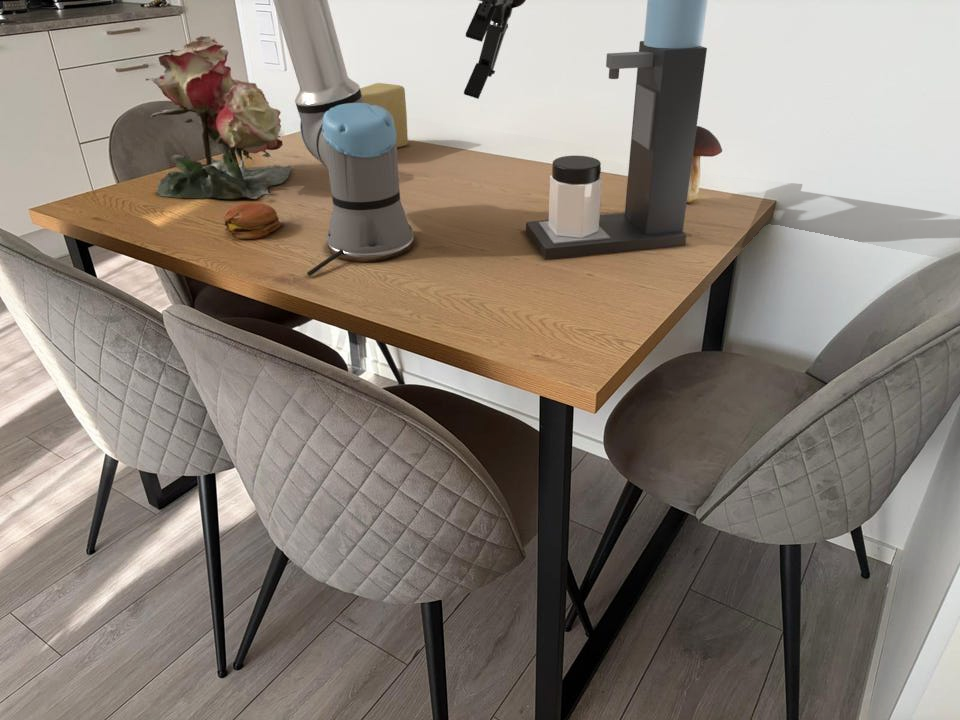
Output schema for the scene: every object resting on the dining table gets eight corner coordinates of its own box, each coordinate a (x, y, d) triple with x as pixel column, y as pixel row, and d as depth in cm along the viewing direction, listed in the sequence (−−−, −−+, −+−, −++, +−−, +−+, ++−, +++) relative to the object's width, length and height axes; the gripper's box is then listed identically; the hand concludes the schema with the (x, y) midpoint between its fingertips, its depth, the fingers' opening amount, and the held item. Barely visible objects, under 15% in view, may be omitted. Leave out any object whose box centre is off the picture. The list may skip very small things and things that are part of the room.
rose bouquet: (275, 202, 152) (248, 46, 136) (145, 197, 156) (105, 46, 140) (317, 166, 173) (299, 28, 157) (202, 163, 177) (173, 28, 162)
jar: (604, 236, 126) (609, 167, 120) (559, 240, 125) (561, 171, 119) (586, 218, 134) (590, 152, 128) (544, 222, 132) (545, 156, 126)
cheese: (351, 167, 172) (343, 101, 164) (321, 161, 176) (312, 97, 169) (410, 145, 187) (406, 84, 179) (381, 140, 192) (376, 80, 184)
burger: (284, 221, 142) (280, 198, 140) (273, 239, 134) (268, 215, 132) (234, 222, 142) (229, 199, 140) (219, 240, 134) (214, 216, 132)
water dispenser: (544, 259, 124) (553, -43, 101) (525, 232, 135) (529, -47, 111) (690, 244, 128) (731, -49, 105) (660, 219, 139) (691, -52, 116)
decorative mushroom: (718, 197, 149) (729, 121, 141) (708, 214, 141) (720, 135, 133) (664, 190, 153) (673, 117, 145) (652, 207, 145) (660, 130, 137)
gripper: (542, -83, 115) (498, 16, 109) (526, 34, 139) (489, 122, 132) (497, -97, 116) (451, 2, 109) (489, 22, 139) (450, 109, 133)
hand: (472, 68), depth 121 cm, fingers open, 13 cm apart
